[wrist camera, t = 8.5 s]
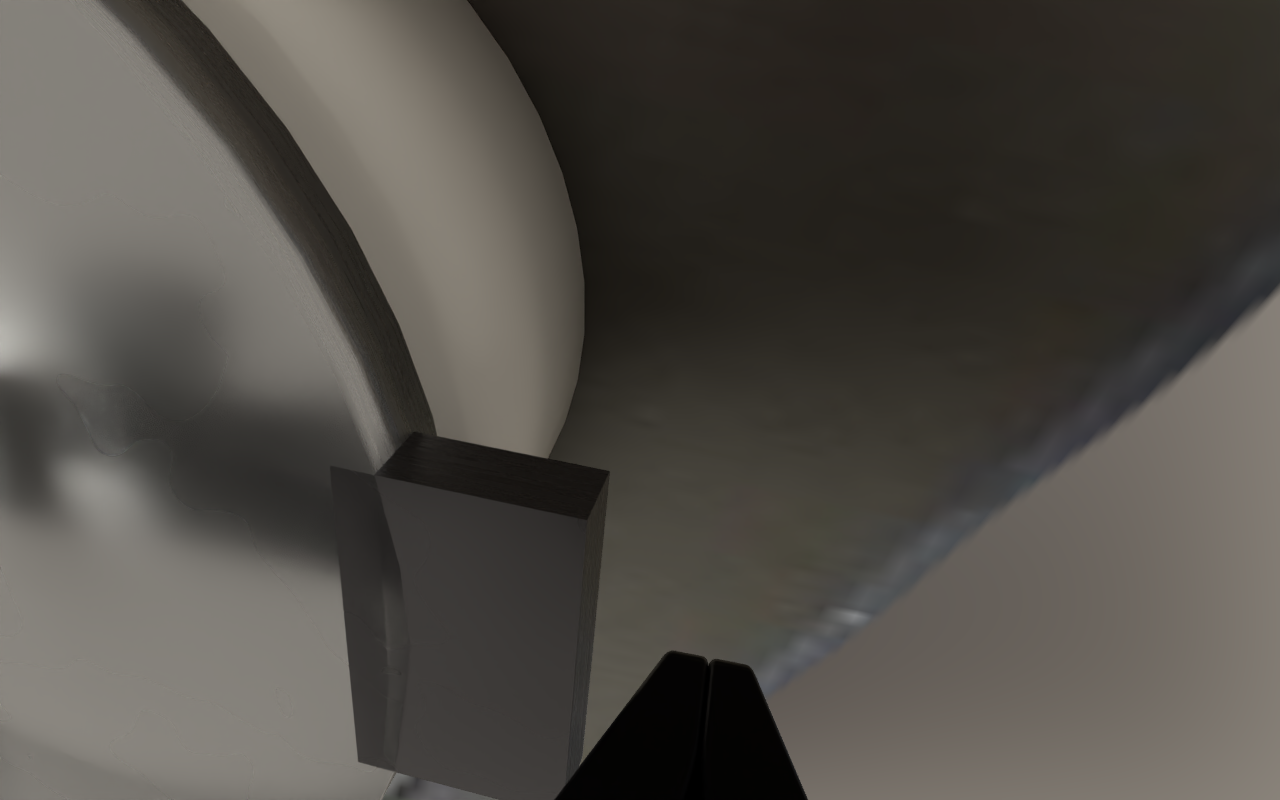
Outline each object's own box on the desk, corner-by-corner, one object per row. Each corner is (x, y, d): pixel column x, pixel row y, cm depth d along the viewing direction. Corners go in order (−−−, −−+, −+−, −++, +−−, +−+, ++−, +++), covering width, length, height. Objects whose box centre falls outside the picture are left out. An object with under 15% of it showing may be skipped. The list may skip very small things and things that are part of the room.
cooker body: (-41, 595, 22) (-304, 796, 17) (-453, -482, 12) (-1402, -815, 7) (557, 717, 20) (474, 980, 15) (637, -404, 11) (481, -755, 5)
